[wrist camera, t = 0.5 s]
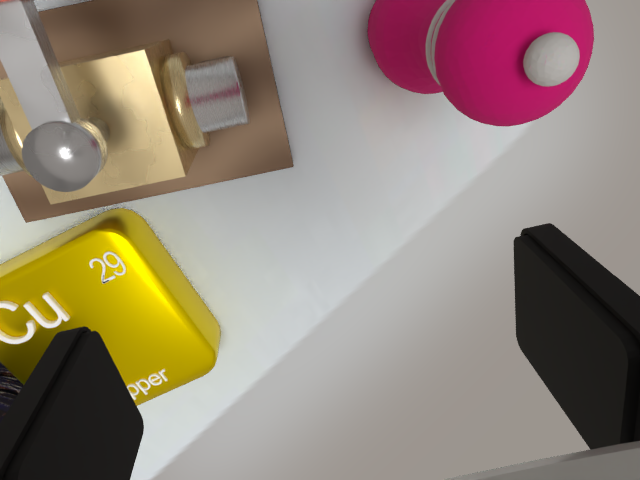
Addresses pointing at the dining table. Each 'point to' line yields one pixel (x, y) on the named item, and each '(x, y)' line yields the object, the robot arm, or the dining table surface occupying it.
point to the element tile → (108, 304)
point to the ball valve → (137, 113)
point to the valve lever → (47, 104)
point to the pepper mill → (485, 53)
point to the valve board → (199, 45)
